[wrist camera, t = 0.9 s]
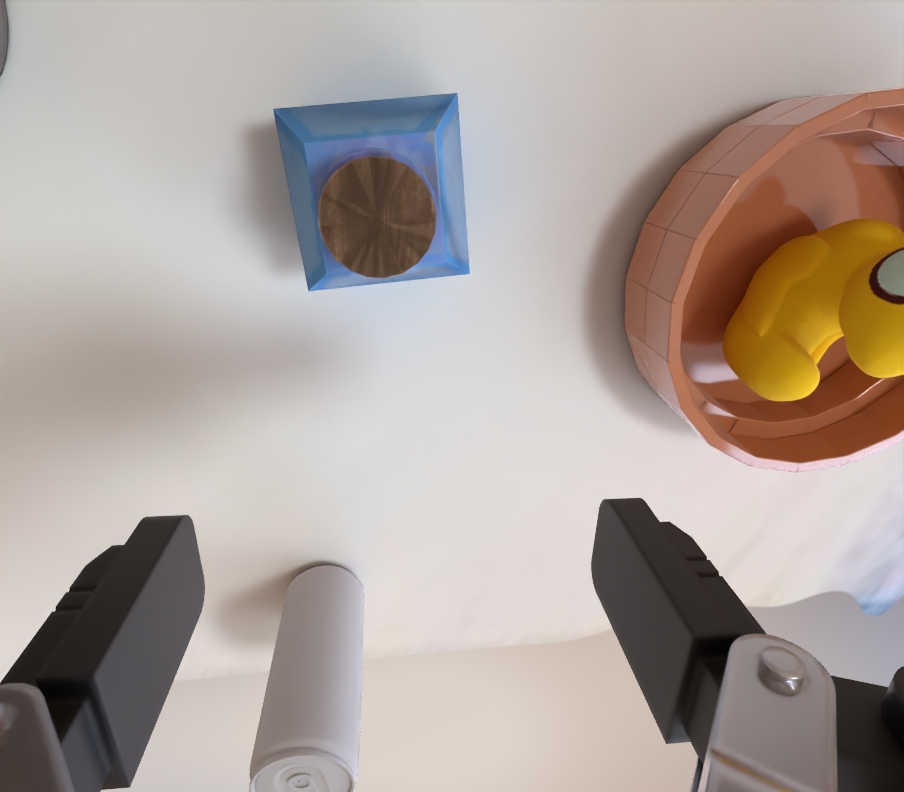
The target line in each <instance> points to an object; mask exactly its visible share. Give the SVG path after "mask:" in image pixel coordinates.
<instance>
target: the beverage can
mask: <svg viewBox="0 0 904 792" xmlns="http://www.w3.org/2000/svg"><path fill="white" fill-rule="evenodd" d="M363 621H364V588H363V586H362V584H361V582H360V580H359V579H358V578H357V577H356V576H355V575H354V574H352V573H351V572H349V571H347V570H345V569H344V568H341V567H337V566H332V565H323V566H316V567H313V568H311V569H308V570H305V571H304V572H302V573H301V574H299V575H298V576H296V577H295V579H294V580H293V581H292V582H291V583H290V585H289V587H288V589H287V592H286V597H285V602H284V606H283V611H282V616H281V621H280V626H279V630H278V635H277V640H276V645H275V649H274V654H273V659H272V664H271V669H270V674H269V678H268V683H267V688H266V692H265V697H264V702H263V707H262V712H261V717H260V722H259V726H258V731H257V735H256V740H255V745H254V750H253V755H252V759H251V765H250V779H251V781H250V788H249V792H354V788H355V780H356V778H357V774H358V768H359V753H360V726H361V697H362V669H363V665H362V664H363Z"/></svg>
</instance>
